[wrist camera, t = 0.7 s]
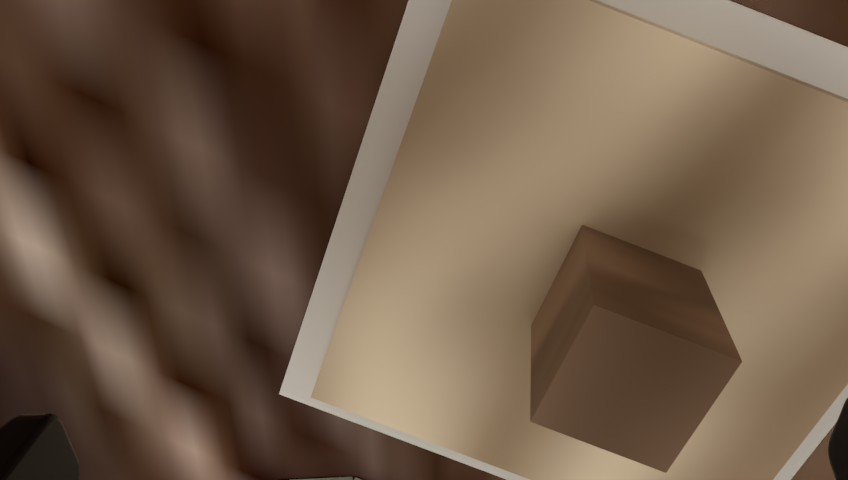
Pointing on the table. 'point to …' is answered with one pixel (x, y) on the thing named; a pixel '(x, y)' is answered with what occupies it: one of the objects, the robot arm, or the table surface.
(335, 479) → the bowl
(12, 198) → the table surface
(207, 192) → the table surface
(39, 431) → the robot arm
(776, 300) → the beige square tray
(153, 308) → the table surface
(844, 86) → the mat
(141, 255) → the table surface
